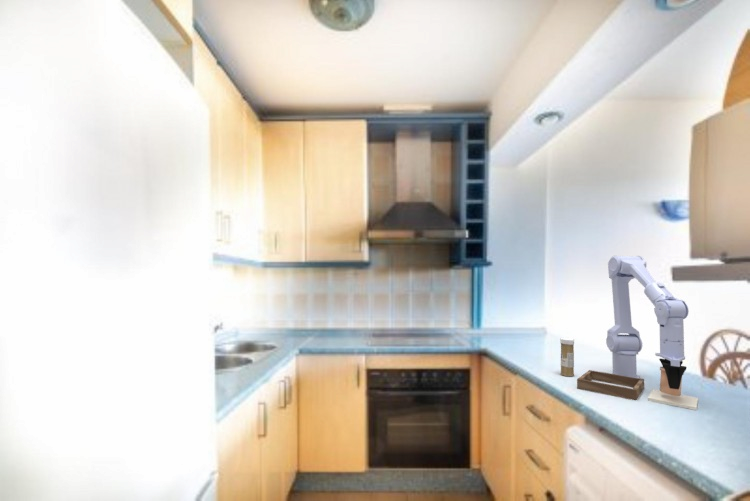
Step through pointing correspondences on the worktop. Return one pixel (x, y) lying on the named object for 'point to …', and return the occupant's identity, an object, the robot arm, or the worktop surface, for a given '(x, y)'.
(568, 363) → the sprinkles bottle
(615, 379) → the box
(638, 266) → the robot arm
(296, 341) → the worktop surface
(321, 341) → the worktop surface
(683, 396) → the ceramic tile
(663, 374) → the terracotta pot
